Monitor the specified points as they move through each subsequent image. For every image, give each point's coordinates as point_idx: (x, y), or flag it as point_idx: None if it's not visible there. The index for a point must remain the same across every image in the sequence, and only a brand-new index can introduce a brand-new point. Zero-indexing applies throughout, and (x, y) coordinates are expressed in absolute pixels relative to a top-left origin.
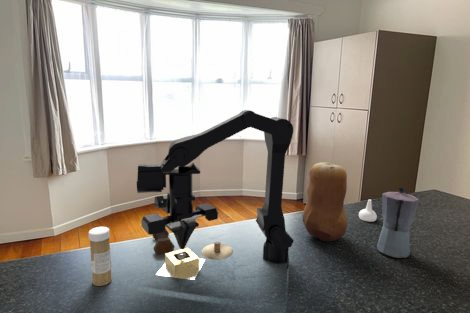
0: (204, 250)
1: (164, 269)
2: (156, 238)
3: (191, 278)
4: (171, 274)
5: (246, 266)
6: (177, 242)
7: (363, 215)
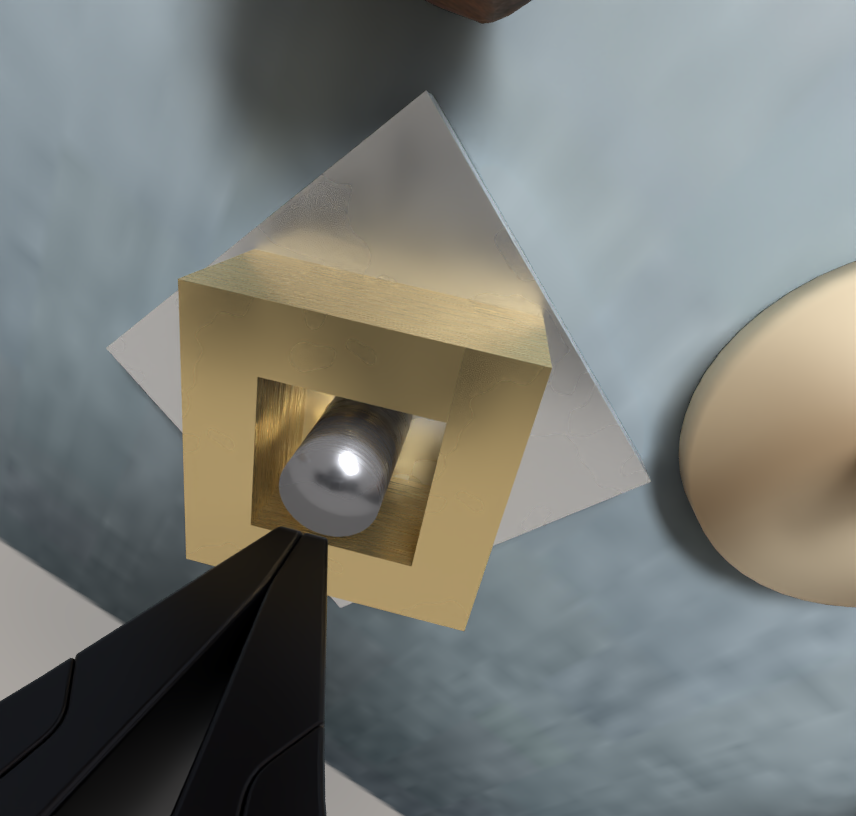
0: (832, 331)
1: None
2: None
3: None
4: None
5: (809, 712)
6: (199, 581)
7: None
